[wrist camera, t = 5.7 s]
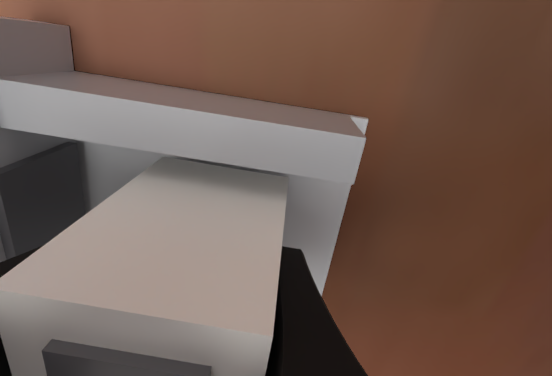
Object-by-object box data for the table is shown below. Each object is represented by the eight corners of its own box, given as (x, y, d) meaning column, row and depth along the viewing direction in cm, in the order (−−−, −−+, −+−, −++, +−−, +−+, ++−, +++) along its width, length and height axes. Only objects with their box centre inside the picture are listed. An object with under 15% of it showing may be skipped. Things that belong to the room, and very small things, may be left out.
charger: (288, 177, 10) (271, 349, 4) (270, 277, 11) (240, 502, 6) (163, 156, 10) (-28, 298, 4) (163, 260, 11) (25, 464, 6)
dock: (377, 75, 9) (426, 89, 6) (306, 347, 14) (308, 448, 11) (30, 20, 10) (-136, 0, 6) (76, 309, 14) (0, 396, 11)
